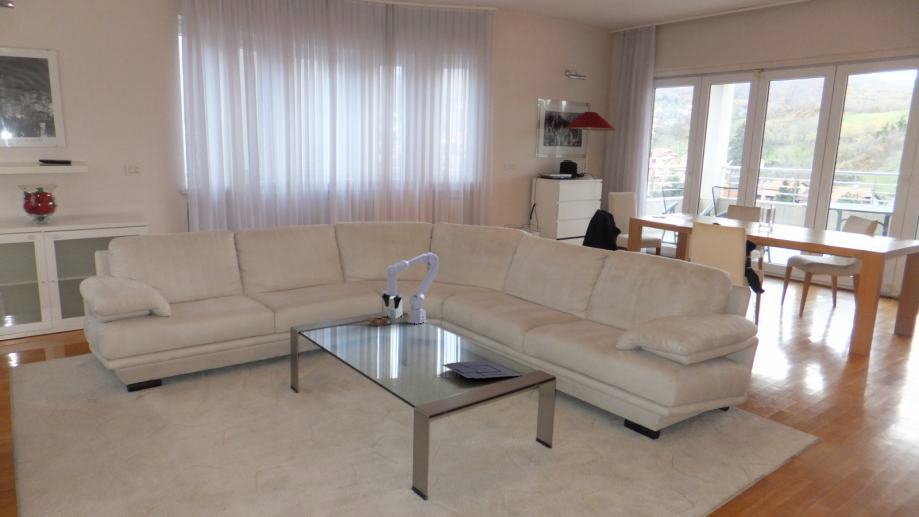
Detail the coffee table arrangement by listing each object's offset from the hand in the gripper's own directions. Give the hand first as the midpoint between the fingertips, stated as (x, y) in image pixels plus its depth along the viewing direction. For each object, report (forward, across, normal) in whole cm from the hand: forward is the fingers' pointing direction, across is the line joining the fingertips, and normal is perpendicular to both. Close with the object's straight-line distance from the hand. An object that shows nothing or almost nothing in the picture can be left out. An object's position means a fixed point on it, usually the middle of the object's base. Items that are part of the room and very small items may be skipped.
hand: (391, 307), depth 352 cm
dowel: (+10, 0, 0) cm, 10 cm away
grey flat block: (+10, +93, -40) cm, 101 cm away
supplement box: (+10, -10, +14) cm, 20 cm away
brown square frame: (+10, -4, -7) cm, 13 cm away
